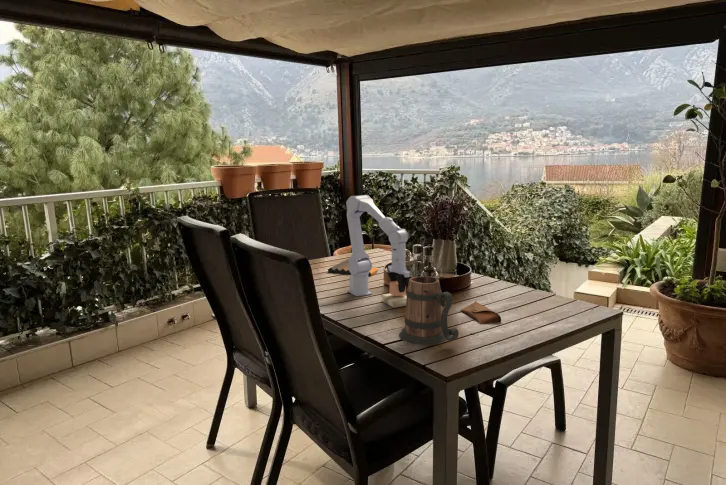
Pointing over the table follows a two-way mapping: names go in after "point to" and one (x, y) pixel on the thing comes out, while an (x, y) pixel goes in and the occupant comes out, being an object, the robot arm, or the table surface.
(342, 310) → the table surface
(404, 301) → the base
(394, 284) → the cube
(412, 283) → the tankard
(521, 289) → the table surface
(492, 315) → the sunglasses case
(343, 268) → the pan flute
